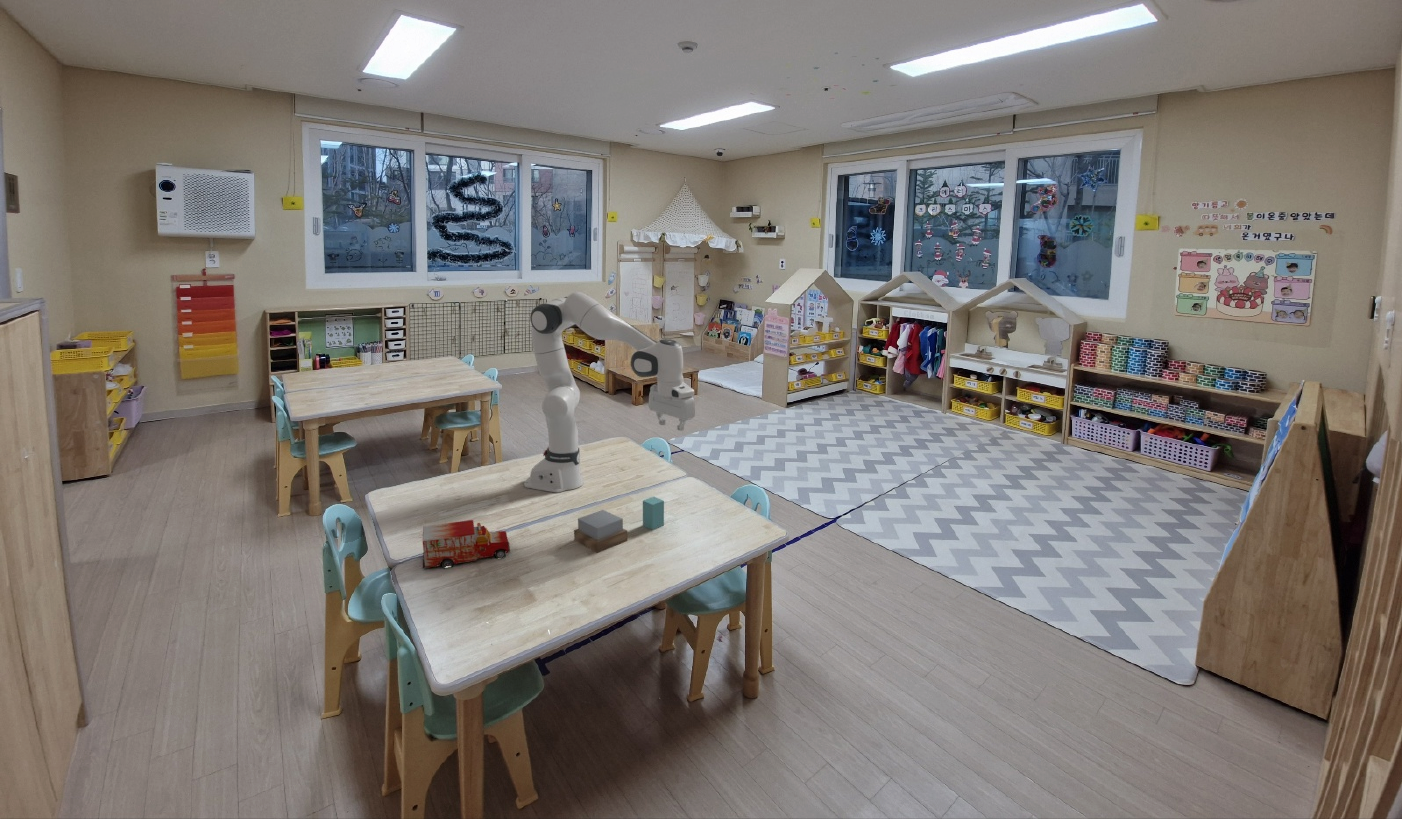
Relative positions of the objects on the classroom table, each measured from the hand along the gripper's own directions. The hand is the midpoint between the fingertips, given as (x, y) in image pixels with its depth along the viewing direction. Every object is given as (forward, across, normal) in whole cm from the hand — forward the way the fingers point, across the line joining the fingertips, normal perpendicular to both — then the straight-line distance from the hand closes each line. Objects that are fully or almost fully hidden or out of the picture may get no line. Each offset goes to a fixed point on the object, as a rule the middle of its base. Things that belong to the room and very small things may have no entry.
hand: (671, 427), depth 227 cm
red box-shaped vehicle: (+30, -16, -68) cm, 76 cm away
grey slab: (+27, +2, -32) cm, 42 cm away
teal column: (+31, +4, -13) cm, 34 cm away
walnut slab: (+31, +2, -32) cm, 45 cm away
